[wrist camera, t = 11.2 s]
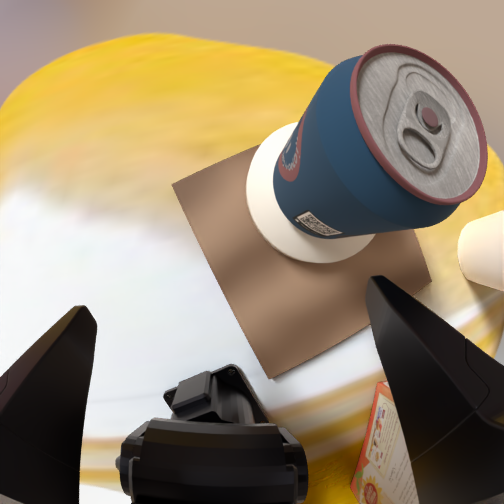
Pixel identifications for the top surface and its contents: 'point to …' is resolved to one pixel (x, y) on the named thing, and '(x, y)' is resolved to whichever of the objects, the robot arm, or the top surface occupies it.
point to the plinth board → (287, 260)
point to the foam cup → (483, 251)
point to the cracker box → (384, 457)
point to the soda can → (381, 148)
